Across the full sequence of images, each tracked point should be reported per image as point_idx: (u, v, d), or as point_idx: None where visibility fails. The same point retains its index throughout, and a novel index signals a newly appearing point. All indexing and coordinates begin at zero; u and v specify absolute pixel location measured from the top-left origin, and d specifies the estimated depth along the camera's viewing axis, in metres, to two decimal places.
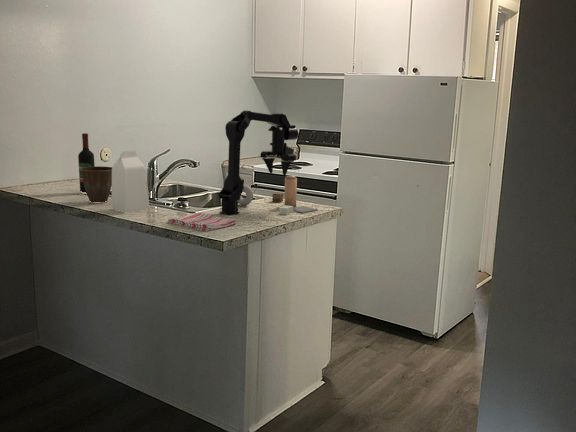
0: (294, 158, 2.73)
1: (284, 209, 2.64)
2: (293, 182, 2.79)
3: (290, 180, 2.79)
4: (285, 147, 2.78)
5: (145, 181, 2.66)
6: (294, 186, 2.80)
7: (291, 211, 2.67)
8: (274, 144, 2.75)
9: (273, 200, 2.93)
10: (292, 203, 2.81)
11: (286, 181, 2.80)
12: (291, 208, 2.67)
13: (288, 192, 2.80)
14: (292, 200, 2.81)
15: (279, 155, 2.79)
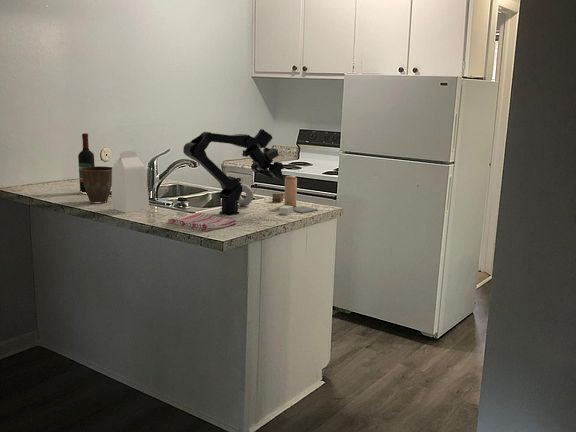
0: (281, 166, 2.65)
1: (284, 209, 2.64)
2: (293, 182, 2.79)
3: (290, 180, 2.79)
4: (267, 157, 2.68)
5: (145, 181, 2.66)
6: (294, 186, 2.80)
7: (291, 211, 2.67)
8: (256, 163, 2.67)
9: (273, 200, 2.93)
10: (292, 203, 2.81)
11: (286, 181, 2.80)
12: (291, 208, 2.67)
13: (288, 192, 2.80)
14: (292, 200, 2.81)
15: None
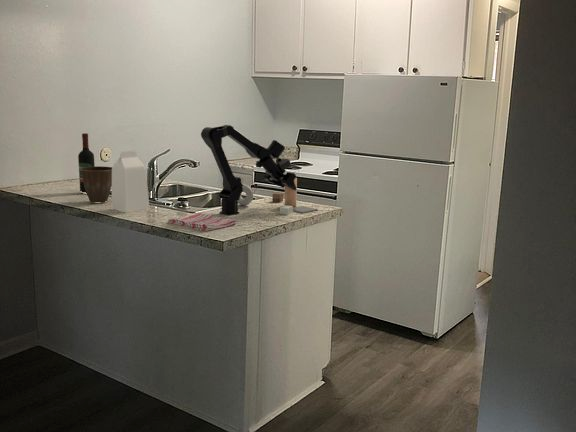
0: (293, 177, 2.70)
1: (285, 209, 2.64)
2: None
3: None
4: (280, 167, 2.73)
5: (145, 181, 2.66)
6: None
7: (291, 211, 2.68)
8: (269, 173, 2.73)
9: (273, 200, 2.93)
10: (292, 203, 2.81)
11: None
12: (291, 208, 2.67)
13: (288, 192, 2.80)
14: (292, 200, 2.81)
15: None
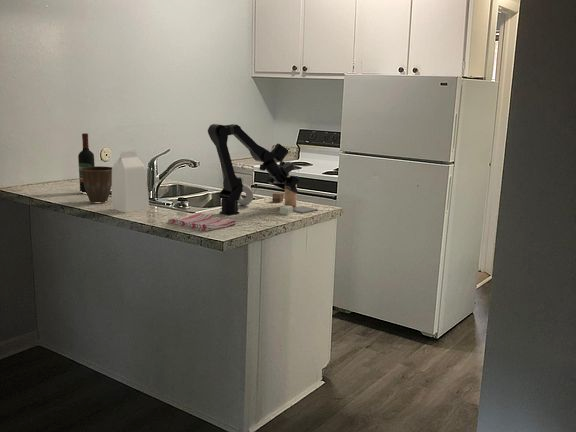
0: (297, 180, 2.72)
1: (285, 209, 2.64)
2: None
3: None
4: (283, 170, 2.75)
5: (145, 181, 2.66)
6: None
7: (291, 211, 2.68)
8: (273, 176, 2.74)
9: (273, 200, 2.93)
10: (292, 203, 2.81)
11: None
12: (291, 208, 2.67)
13: (288, 192, 2.80)
14: (292, 200, 2.81)
15: None
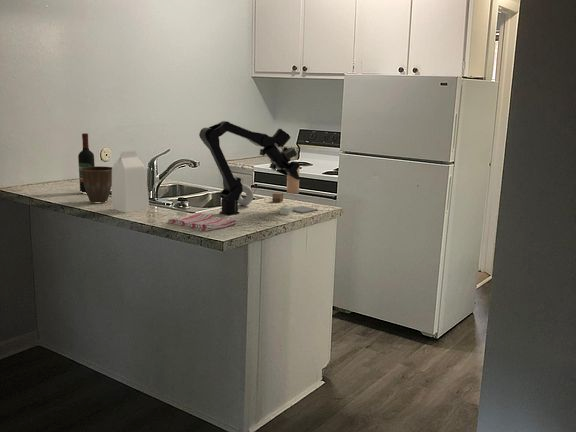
0: (297, 166, 2.66)
1: (285, 209, 2.64)
2: None
3: None
4: (285, 156, 2.70)
5: (145, 181, 2.66)
6: None
7: (291, 211, 2.68)
8: (273, 162, 2.70)
9: (273, 200, 2.93)
10: (294, 189, 2.76)
11: None
12: (291, 208, 2.67)
13: (290, 178, 2.75)
14: (294, 186, 2.75)
15: None
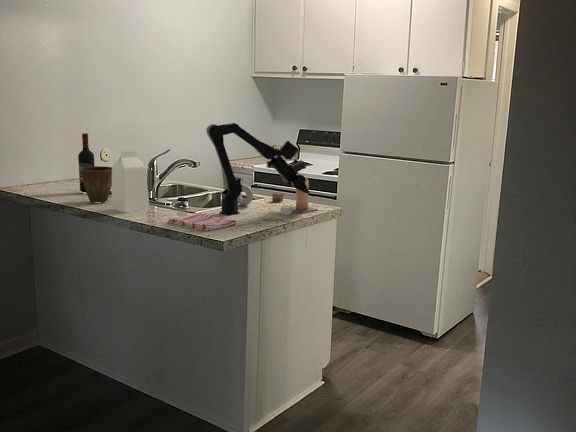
0: (302, 179, 2.61)
1: (286, 209, 2.64)
2: None
3: None
4: (292, 169, 2.66)
5: (145, 181, 2.66)
6: None
7: (291, 211, 2.68)
8: (280, 174, 2.67)
9: (273, 200, 2.93)
10: (301, 206, 2.71)
11: None
12: (291, 208, 2.67)
13: (298, 194, 2.70)
14: (302, 203, 2.71)
15: None
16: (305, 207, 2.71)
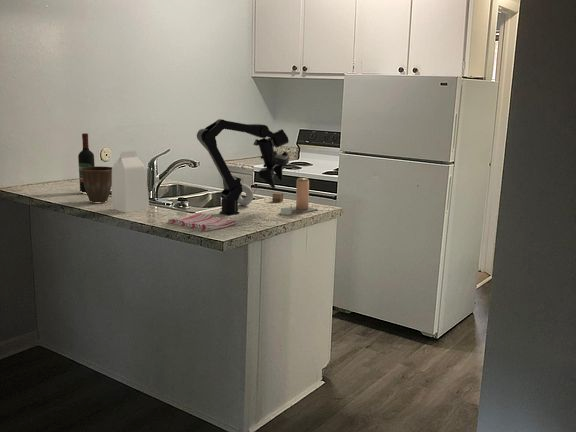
0: (267, 174, 2.61)
1: (286, 209, 2.64)
2: (303, 184, 2.69)
3: (300, 182, 2.69)
4: (271, 159, 2.65)
5: (145, 181, 2.66)
6: (304, 189, 2.69)
7: (291, 211, 2.68)
8: None
9: (273, 200, 2.93)
10: (302, 206, 2.71)
11: (297, 183, 2.70)
12: (291, 208, 2.68)
13: (298, 194, 2.70)
14: (302, 203, 2.71)
15: None
16: (305, 207, 2.71)
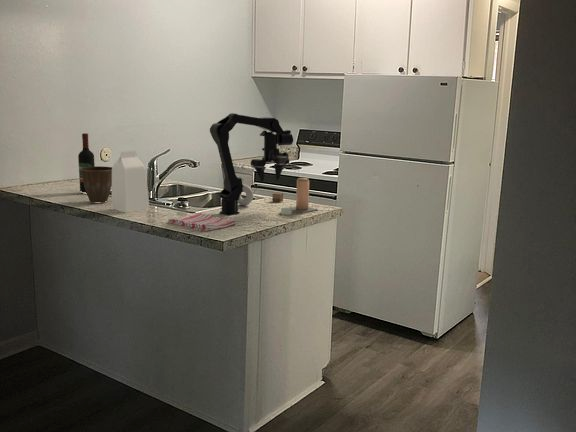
0: (256, 164, 2.63)
1: (287, 209, 2.64)
2: (303, 184, 2.69)
3: (300, 182, 2.69)
4: (269, 153, 2.66)
5: (145, 181, 2.66)
6: (305, 189, 2.69)
7: None
8: None
9: (273, 200, 2.93)
10: (302, 206, 2.71)
11: (297, 183, 2.70)
12: None
13: (299, 194, 2.70)
14: (302, 203, 2.71)
15: (271, 161, 2.70)
16: (305, 207, 2.71)
